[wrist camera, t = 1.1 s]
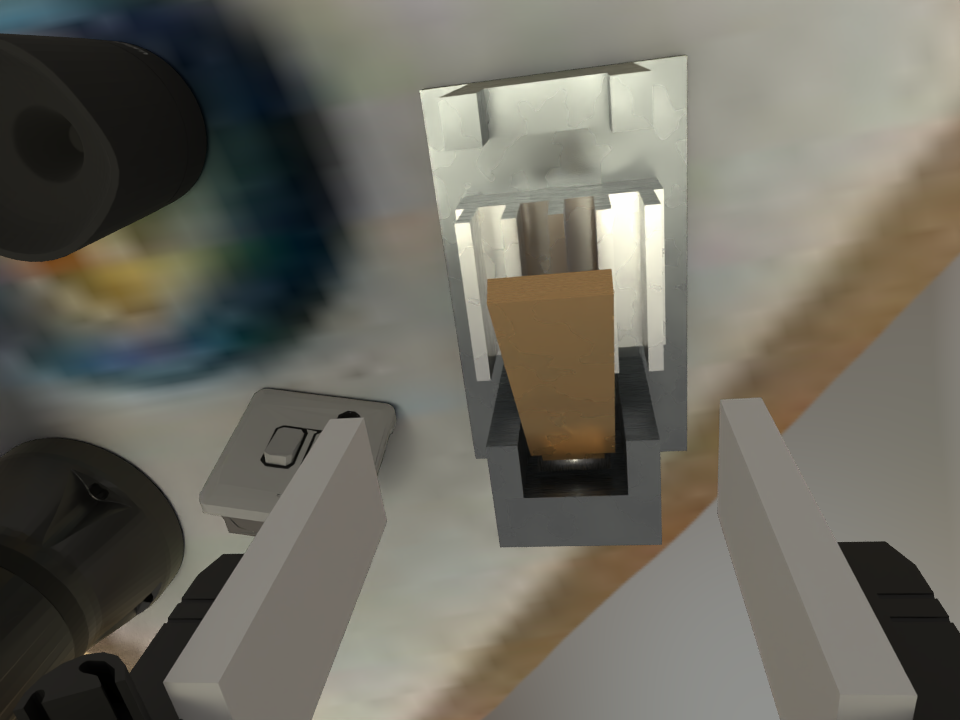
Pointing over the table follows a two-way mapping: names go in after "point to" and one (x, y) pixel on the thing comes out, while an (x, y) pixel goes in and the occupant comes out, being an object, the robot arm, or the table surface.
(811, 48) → the table surface
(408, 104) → the table surface
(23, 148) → the pen holder
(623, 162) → the base
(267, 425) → the electrical switch
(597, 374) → the strap
